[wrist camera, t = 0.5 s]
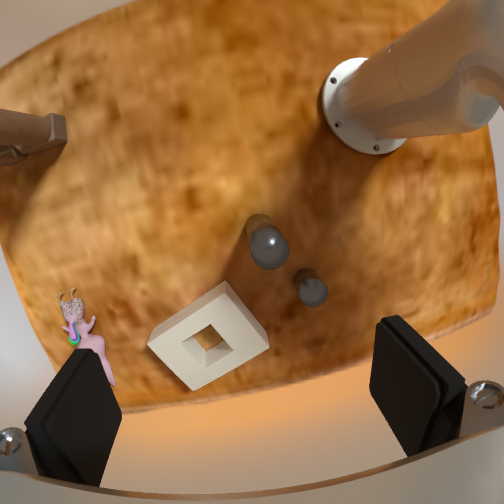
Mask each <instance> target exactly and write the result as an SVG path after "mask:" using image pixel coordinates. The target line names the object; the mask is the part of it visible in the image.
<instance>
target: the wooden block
mask: <svg viewBox="0 0 504 504" xmlns="http://www.w3.org/2000/svg"><path fill="white" fill-rule="evenodd" d="M66 141H67V133H66V124H65V117H64V116H62V115H58V114H54V113H50V114H48V115H45V116H43V117H41V116H36V115H31V114H26V113H21V112H16V111H10V110H5V109H0V166H7V165H12V164H14V163H16V162H18V161H21V160H23V159H25V158H26V154H37V153H39V152H42V151H44V150H47V149H49V148H52V147H54V146H57V145H59V144H62V143H65V142H66Z"/></svg>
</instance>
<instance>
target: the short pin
mask: <svg viewBox="0 0 504 504" xmlns="http://www.w3.org/2000/svg"><path fill="white" fill-rule="evenodd" d="M293 284H294V287H295V289H296V290H297V292H298V294H299V296H300V298H301V300H302V302H303V303H304V304H305V305H306V306H309V307H317V306H320V305H321V304H323V303H324V302H325V300H326V299H327V296H328V289H327V287H326V285H325V284H324V283H323V281H322V280H321V279H320V278H319V276H318V275H317V274H316V273H315V271H313V270H311V269H302V270H300V271H298V272H297V273H296V275H295V276H294V280H293Z"/></svg>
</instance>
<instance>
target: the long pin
mask: <svg viewBox="0 0 504 504" xmlns="http://www.w3.org/2000/svg"><path fill="white" fill-rule="evenodd" d="M245 230H246V234H247V238H248V242H249V246H250V250H251V254H252V258H253V260H254V262H255V263H256V264H257V265H258V266H260V267H261V268H264V269H276V268H278V267H280V266H281V265H283V264H284V263H285V261H286V260H287V258H288V255H289V246H288V243H287V241H286V240H285V238H284V237H283V236H282V234H281V233H280V232H279V230H278V229H277V228H276V226H275V225H274V224H273V223H272V221H271V220H270V219H269V218H268V217H267V216H266V215H263V214H255V215H252V216H251V217H250V218H249V219H248V220H247V222H246V225H245Z"/></svg>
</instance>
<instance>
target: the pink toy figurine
mask: <svg viewBox="0 0 504 504" xmlns="http://www.w3.org/2000/svg"><path fill="white" fill-rule="evenodd" d="M75 289H76V288H72V289H70V290H69V291H70V292H71V299H72V301H71V302H69V301H66V302H63V301H61V300H60V296H61V295H62V294H63V293H64V292H63V293H59V294H58V295H56V296H58V303H59V304H60V306H61V309H62V312H63V317H64V319H65V320H66V321H67V322H68V323H69V328H67V327H66V326H64V325H63V326H62V329H64V330H66V331H67V332H69V336H70V338H69V337H68V341H69V344H70V345H72V346H76V349H77V348H91V349H93V351H94V352H96V353H98V355H99V357H100V360H101V362H102V365H103V368H104V370H105V373H106V376H107V378H108V381H109V382H110V383H111V384H112V385H113V386H115V380H114V376H113V373H112V370H111V367H110V364H109V362H108V360H107V359H106V357H105V341H104V339H103V338H102V337H101V336H99V335H91V334H88V332H89V330H90V329H91V328H92V327H93V325H94V322H95V319H96V317H95V316H92V318H91V322H90V323H89V324H87V323H86V321H85V320H84V317H83V316H84V303H83V301H82V300H81V299H80V298H75V297H73V291H74V290H75ZM74 326H75V327H74ZM79 335H80V336H81V339H80V337H79Z"/></svg>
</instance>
